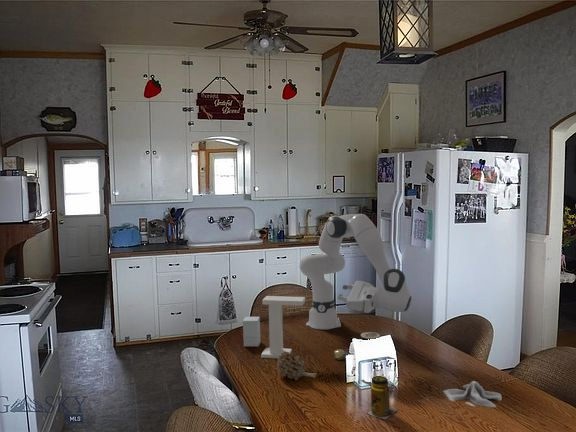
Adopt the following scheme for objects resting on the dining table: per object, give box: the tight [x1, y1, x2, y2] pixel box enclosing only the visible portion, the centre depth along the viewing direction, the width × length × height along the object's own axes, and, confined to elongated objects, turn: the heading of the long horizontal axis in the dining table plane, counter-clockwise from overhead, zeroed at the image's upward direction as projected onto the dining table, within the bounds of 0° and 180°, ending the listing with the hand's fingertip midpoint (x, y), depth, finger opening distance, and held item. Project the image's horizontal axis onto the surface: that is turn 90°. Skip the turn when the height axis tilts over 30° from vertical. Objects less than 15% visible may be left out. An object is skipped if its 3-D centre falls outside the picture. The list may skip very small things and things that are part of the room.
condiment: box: [366, 375, 398, 420], centre depth 171 cm, size 7×8×12 cm
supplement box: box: [242, 316, 262, 347], centre depth 243 cm, size 7×7×13 cm
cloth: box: [442, 380, 503, 408], centre depth 181 cm, size 22×19×6 cm
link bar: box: [333, 348, 349, 361], centre depth 221 cm, size 4×20×3 cm, turn 77°
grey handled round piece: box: [276, 352, 318, 381], centre depth 199 cm, size 22×10×10 cm, turn 47°
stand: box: [260, 295, 306, 359], centre depth 227 cm, size 9×19×26 cm, turn 78°
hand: (340, 291), depth 221 cm, fingers open, 8 cm apart
